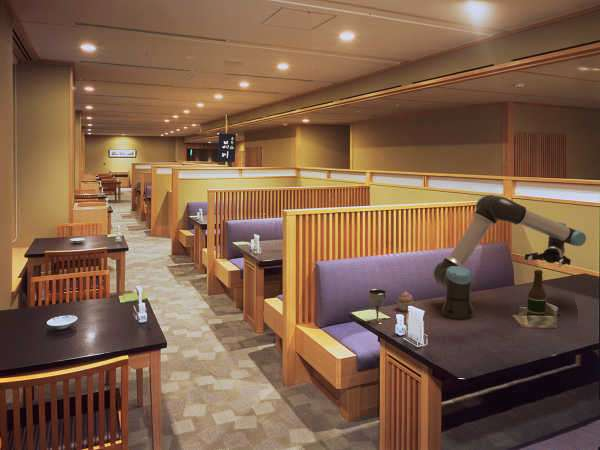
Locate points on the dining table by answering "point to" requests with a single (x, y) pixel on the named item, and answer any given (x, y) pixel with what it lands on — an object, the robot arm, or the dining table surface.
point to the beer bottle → (537, 297)
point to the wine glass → (377, 302)
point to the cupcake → (405, 301)
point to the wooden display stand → (537, 318)
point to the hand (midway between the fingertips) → (543, 262)
